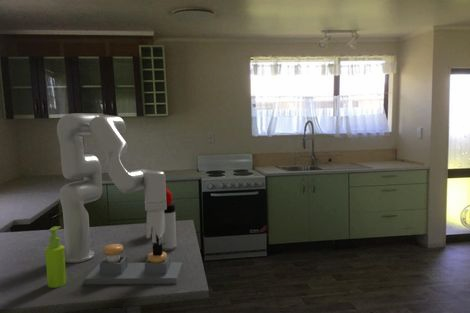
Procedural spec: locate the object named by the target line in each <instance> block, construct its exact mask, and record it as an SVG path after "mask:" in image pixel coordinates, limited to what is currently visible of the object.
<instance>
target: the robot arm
mask: <svg viewBox="0 0 470 313" xmlns="http://www.w3.org/2000/svg"><path fill="white" fill-rule="evenodd" d="M126 127H127V126H126V123H125V121H124V119H122V117H120V116H118V115H112V114H111V115H109V114H104V113H83V112H81V113H79V112H78V113H77V112H76V113H68V114H64V115H63V116H61V117H60V119H58V122H57V126H56V133H57V136H58V137H57V138H58V141H59V146H60V160H61V161H60V162H61V172H62V176H63V177H64V178H65V179H67V180H77V179H83V180H79V181H74V182H68V183H67V184H64V185H63V186H62V187H60V190H59V193H58V196H59V201H60V204H61V208H62V217H63V220H62V221H63V230H64V231H63V232H64V234H63V235H64V253H65V264H66V263H68V264H76V263H82V262H86V261H89V260H92V258H94V257H95V256H96V255H95V251H94V250H91V236H90V235H91V234H90V219H89V212H88V211H87V209H86V208H85V204H88V203H92V202H95V201H98V200H99V199H100V198H101V196H102V194H103V177H102V164H101V162H100V160H99V158H98V157H97V156H96V155H94V154H91V153H90V154H89V153H87V154H84V152H85V151H84V143H83V141H82V140H81V138H80V137H79V136H80V135H92V136H93V137H94V138H95V140H96V142H97V143H98V145H99V146H100V148H101V149H102V150H103V151H104V153H105V155H106V156H107V157H106V158H107V159H106V171H107V174H108V176H109V178H110V180H111V181H112V183H113V184H114V185H115V186H116V188H117V189H118V190H119V191H120V192H121V193H125V194H129V193H134V192H138V191H142V190H144V211H146V239H148V240H149V239H150V238H151V243H152V244H151V245H152V252H153V255H154V256H161V255H162V253H163V252H164V250H163V249H162V235H163V233H164V231H165V216H164V210H166V209H167V206H166V184H167V183H166V173H165V172H164V171H162V170H150V169H146V168H141V169H140V168H139V169H134V170H129V171H127V169H126V168H125V167H124V165H123V163H122V161H121V156H122V155H124V154H125V153H126V151H127V150H128V147H129V146H128V143H127V142H126V140H125V138H124V137H123V135H124V134H125V133H126V130H127V128H126Z"/></svg>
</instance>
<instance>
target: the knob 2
mask: <svg viewBox="0 0 470 313" xmlns="http://www.w3.org/2000/svg"><path fill="white" fill-rule="evenodd" d="M167 254H168V253H166V252H165V251H163V253H162V255H161V256H154V255H153V251H151V252H149V253H148V254H147V259H148V261H149V262H151V263H164V261H166V260H167Z"/></svg>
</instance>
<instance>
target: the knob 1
mask: <svg viewBox="0 0 470 313" xmlns="http://www.w3.org/2000/svg"><path fill="white" fill-rule="evenodd" d="M102 250H103V252H102V253H103V255H105V256H106V257H107V262H108V263H120V256H121V254H122V253H123V252H124V246H123V244H121V243H112V244H107V245H105V246H104V247H103V249H102Z"/></svg>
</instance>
